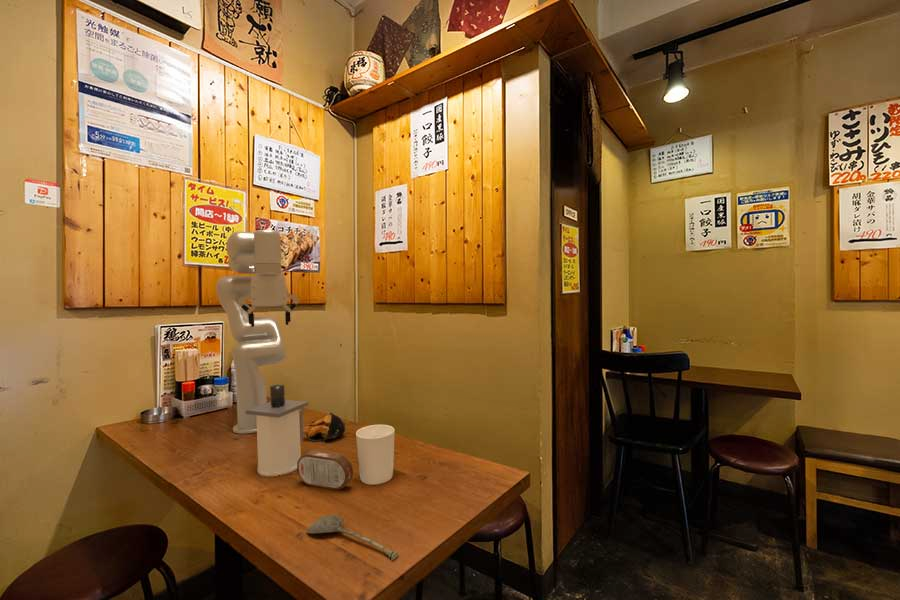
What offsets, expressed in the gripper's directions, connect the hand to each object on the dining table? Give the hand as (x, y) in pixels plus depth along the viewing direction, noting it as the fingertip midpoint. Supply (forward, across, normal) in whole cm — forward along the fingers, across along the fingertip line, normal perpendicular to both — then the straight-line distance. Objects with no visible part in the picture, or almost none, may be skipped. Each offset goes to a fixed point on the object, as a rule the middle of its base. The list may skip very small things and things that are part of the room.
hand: (270, 325), depth 120 cm
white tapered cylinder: (+38, +24, -34) cm, 57 cm away
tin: (+39, +11, -32) cm, 52 cm away
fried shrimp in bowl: (+39, +13, +1) cm, 41 cm away
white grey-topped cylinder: (+38, +2, -15) cm, 41 cm away
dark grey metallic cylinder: (+33, +1, -16) cm, 36 cm away
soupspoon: (+39, +13, -57) cm, 70 cm away
